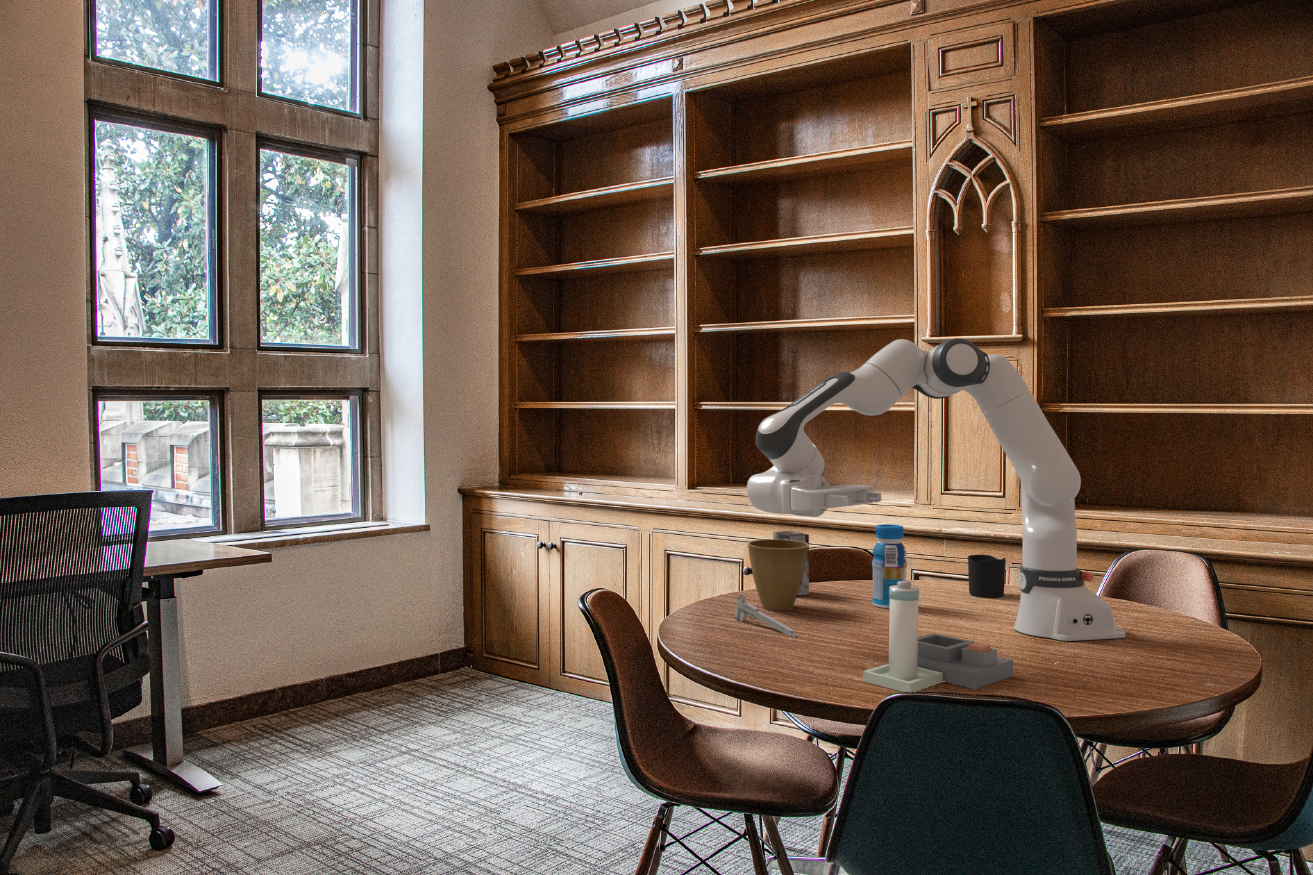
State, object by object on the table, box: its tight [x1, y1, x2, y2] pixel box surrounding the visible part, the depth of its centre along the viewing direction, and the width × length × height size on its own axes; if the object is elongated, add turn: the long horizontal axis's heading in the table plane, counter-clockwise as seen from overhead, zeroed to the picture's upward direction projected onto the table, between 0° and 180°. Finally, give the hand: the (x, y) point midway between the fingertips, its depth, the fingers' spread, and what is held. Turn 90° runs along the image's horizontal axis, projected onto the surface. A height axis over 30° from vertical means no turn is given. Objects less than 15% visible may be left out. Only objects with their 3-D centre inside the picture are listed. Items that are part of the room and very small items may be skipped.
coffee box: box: [772, 530, 810, 596], centre depth 254 cm, size 9×6×16 cm
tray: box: [862, 663, 944, 693], centre depth 171 cm, size 10×10×2 cm
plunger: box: [968, 641, 992, 652], centre depth 173 cm, size 3×3×3 cm
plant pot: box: [747, 538, 810, 611], centre depth 235 cm, size 15×15×16 cm
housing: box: [918, 632, 1014, 691], centre depth 177 cm, size 13×18×6 cm
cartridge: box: [888, 580, 920, 680], centre depth 171 cm, size 5×5×17 cm
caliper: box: [734, 594, 799, 638], centre depth 214 cm, size 20×1×6 cm, turn 34°
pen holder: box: [967, 554, 1007, 599], centre depth 251 cm, size 9×9×10 cm
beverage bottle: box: [871, 523, 908, 609], centre depth 237 cm, size 8×8×20 cm
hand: (864, 499), depth 188 cm, fingers open, 8 cm apart
